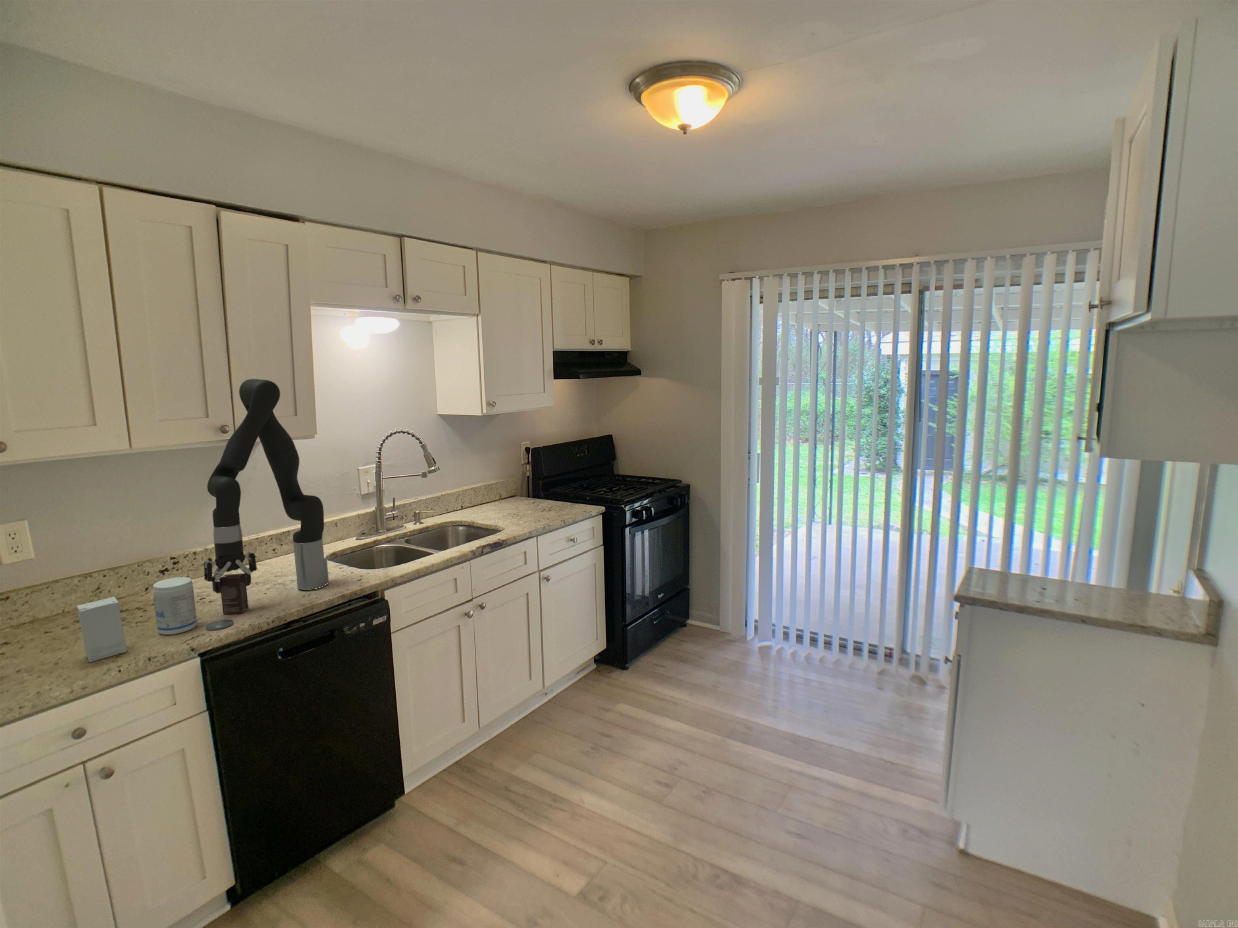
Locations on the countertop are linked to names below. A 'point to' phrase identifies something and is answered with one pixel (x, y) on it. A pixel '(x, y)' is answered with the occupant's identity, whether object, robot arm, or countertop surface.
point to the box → (233, 593)
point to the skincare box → (102, 628)
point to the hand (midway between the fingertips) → (232, 588)
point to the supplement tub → (174, 605)
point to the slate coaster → (219, 624)
